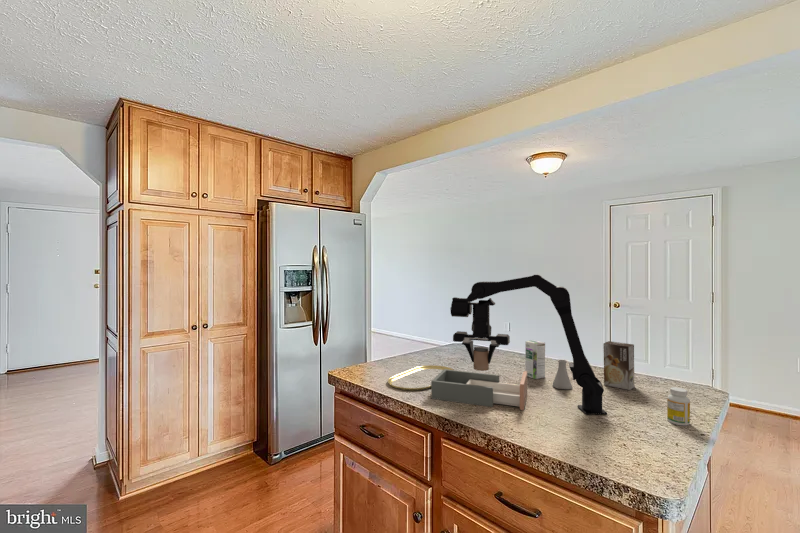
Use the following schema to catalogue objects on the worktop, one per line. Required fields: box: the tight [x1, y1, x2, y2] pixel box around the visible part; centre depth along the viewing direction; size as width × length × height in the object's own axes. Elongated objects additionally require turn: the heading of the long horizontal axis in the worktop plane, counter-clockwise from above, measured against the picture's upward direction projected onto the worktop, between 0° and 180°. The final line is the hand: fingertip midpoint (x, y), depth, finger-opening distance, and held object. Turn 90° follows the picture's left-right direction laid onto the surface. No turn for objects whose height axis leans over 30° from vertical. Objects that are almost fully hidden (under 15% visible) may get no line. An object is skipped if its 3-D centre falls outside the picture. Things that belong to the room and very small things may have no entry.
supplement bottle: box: [666, 386, 691, 427], centre depth 111 cm, size 5×5×10 cm
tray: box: [466, 370, 528, 411], centre depth 131 cm, size 20×16×8 cm
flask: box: [551, 359, 573, 390], centre depth 143 cm, size 7×7×10 cm
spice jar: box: [473, 346, 490, 372], centre depth 132 cm, size 5×5×7 cm
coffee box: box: [602, 340, 636, 391], centre depth 145 cm, size 9×6×16 cm
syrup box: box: [524, 339, 546, 380], centre depth 157 cm, size 6×6×14 cm
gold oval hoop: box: [387, 364, 455, 392], centre depth 154 cm, size 19×35×2 cm, turn 145°
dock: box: [430, 369, 500, 408], centre depth 134 cm, size 21×16×6 cm
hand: (481, 362), depth 132 cm, fingers closed on spice jar, 5 cm apart
